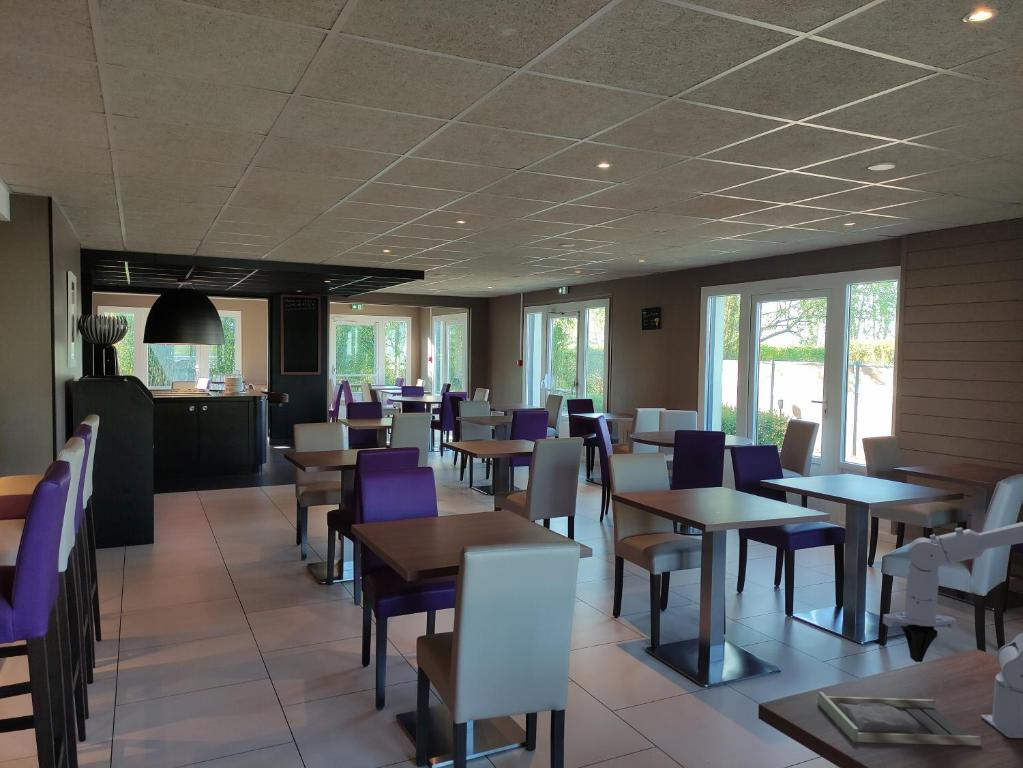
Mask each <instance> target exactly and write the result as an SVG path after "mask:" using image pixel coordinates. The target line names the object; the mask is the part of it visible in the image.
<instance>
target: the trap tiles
mask: <svg viewBox="0 0 1023 768" xmlns="http://www.w3.org/2000/svg"><path fill="white" fill-rule="evenodd" d="M902 708H903V710H905V711H906V712H907V713H908V714H909V715H910V716H911V717H912V718H913V719H915V720H916V721H917V722H918V723H919V724H920V725H922V726H923V727H924V728H925V729H926V730H928V731H929V732H930V733H931V735H965V736H969V735H968V733H966V732H965V731H963V729H961V728H960V727H958V726H957V725H956V724H955V723H954V722H952V721H951V720H950V719H948V717H946V716H945V715H944V714H942V713H941V712H940V711H938V710H937V708H935V707H934V708H915V707H902Z"/></svg>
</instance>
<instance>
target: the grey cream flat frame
mask: <svg viewBox="0 0 1023 768" xmlns="http://www.w3.org/2000/svg"><path fill="white" fill-rule="evenodd" d="M826 696H827V695H826ZM827 697H828V698H829V699H830V700H831V701H832V702H833V703H834V704H835V705H836V706H838V704H840V703H842V704H852V705H859V704H862V703H881V704H884V705H889V706H891V707H893V708H903V707H915V708H919V709H920V708H935V703H936V700H935V699H925V698H924V699H920V698H894V697H893V698H892V697H863V696H861V697H860V696H832V695H831V696H830V695H829V696H827ZM981 741H982V737H981V736H980V735H968V736H965V735H951V734H950V735H933V734H932V733H931V734H929V733H927V734H925V733H914V734H898V733H865V732H858V742H857V743H875V744H876V743H879V744H883V743H884V744H912V745H913V744H915V745H949V746H952V745H953V746H981V743H982V742H981Z"/></svg>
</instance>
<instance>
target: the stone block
mask: <svg viewBox="0 0 1023 768" xmlns="http://www.w3.org/2000/svg"><path fill="white" fill-rule="evenodd" d="M836 706H837V707H838V708H839V709H840V710H841V711H842V712H843V714H844V715H845V716H846V717H847V718H848V719H849V720H850V721H851V722H852V723H853V724H854V725H855V726H856V727H857V728H858V729H859V730H858V732H865V733H898V734H915V732H916V729H915V725H914V724H913V723H912V721H911V720H910V719H909V718H908V717H906V715H904V713H902V712H901V711H900V710H898V709H897V707H891V706H889V705H884V704H881V703H862V704H859V705H852V704H842V703H840V704H838V705H836Z"/></svg>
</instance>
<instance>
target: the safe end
mask: <svg viewBox="0 0 1023 768" xmlns="http://www.w3.org/2000/svg"><path fill="white" fill-rule="evenodd" d="M817 695H818V697H817V704H818V706H819V707H820V708H822V710H823V711H824V712H825V713H826V714H827V715H828V716H829V717H830V719H832V720H833V722H834V723H835V724H836V725H837V726H838V727H839V728H840V730H842V731H843V732H844V734H845V735H847V737H848V738H849V739H850V740H851V741H852V742H853V743H859V742H858V730H859V729H858V728H857V727H856V726H855V725H854V724H853V723H852V722H851V721H850V720H849V719H848V718H847V717H846V716H845V715H844V714H843V712H842V711H841V710H840V709H839V708H838V707H837V706H838V705H835V704H834V703H833V702H832V701H831V700H830V699H829V698H828V697H827V695H826V694H825V693H824V692H823V691H818V694H817Z"/></svg>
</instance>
